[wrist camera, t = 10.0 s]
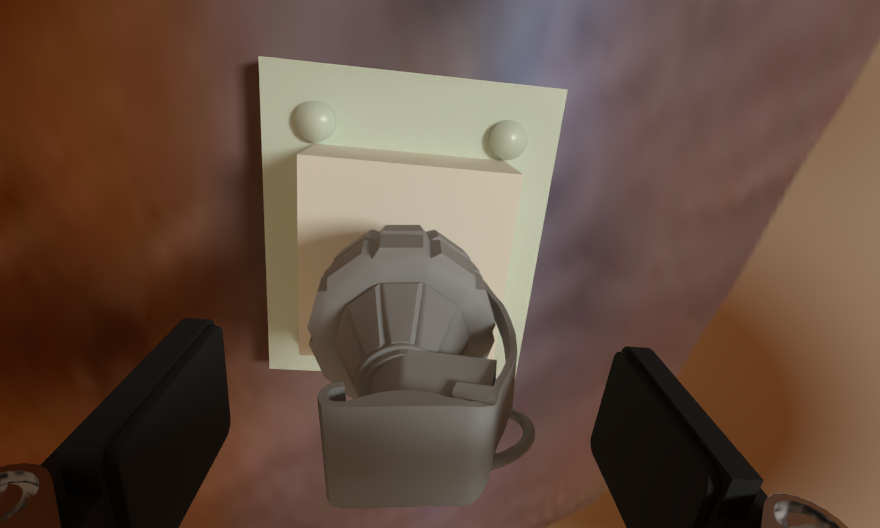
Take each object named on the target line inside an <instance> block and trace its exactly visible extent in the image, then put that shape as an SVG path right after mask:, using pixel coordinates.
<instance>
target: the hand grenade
mask: <svg viewBox="0 0 880 528" xmlns="http://www.w3.org/2000/svg"><path fill="white" fill-rule="evenodd" d="M495 322H496V324H495ZM495 325H497V327H498V330H499V333H500V335H501V338H502V342H503V346H504V352H505V361H506V363H505V365H504V367H503V369H502V371H501V373H500V375H499V376H498V378H497V379H496V368H497V360H492V359H487V357H488V355H489V353H490V350H491V348H492V346H493V344H494V341H495V340H494V335H493V329H494V327H495ZM307 329H308V331H309V332H310V334H311V338H310V341H309V346H310V348H311V350H312V352H313V354H314V356H315V358H316V360H317V363H318V365H319V367H320V369H321V371H322V373H323V375H324V377H325V378H327V379H328V380H330V381H331V382H333V383H332V384H328V385H326V386H325V387H324V388H323V389H321V390H320V391H319V394H318V397H317V399H318V409H319V420H320V430H321V441H322V451H323V462H324V472H325V483H326V493H327V499H328V501H329V503H330V505H332V506H336V507H339V508H378V507H418V506H465V505H468V504H471V503H472V502H474V501H475V500H476V499H477V498H478V497H479V496H480V495H481V493H482V492H483V490H484V488H485V486H486V484H487V481H488V479H489V475H490V471H491V470H493V469H497V468H500V467H503V466H505V465H507V464H510V463H512V462H514V461H515V460H517V459H519V458H520V457H521V456H523V455H524V454H525V453H526V452H527V451H528V450H529V449H530V447H531V446H532V444H533V441H534V438H535V429H534V426H533V424H532V422H531V421H530V419H529V418H528V417H527V416H526V415H524V414H523V413H521V412H520V411H518V410H516V409H514V408H512V406H513V395H514V384H515V372H516V361H517V342H516V334H515V330H514V327H513V324H512V321H511V319H510V317H509V314H508V312H507V310H506V308H505V306H504V305H503V303H502V302H501V301H500V300H499V299H498V298H497V297H496V296H495V294H494V293H493V292H492V291H491V289H490V288H489V286H488V285H487V283H486V282H485V281H484V280H483V278H482V275H481V274H480V271H479V269H478V268H477V267H476V266H475V265H474V263H473V262H472V261H471V260H470V257H469V256H468V255H467V254H466V252H465V251H464V250H463V249H462V248H460V247H459V246H457V245H456V244H455V243H453V242H452V241H450V240H449V239H447V238H446V237H445V236H443V235H442V234H440V233H439V232H438V231H436V230H434V229H433V230H430V231H427V232H426V231H425V230H424V229H423V228H422V227H421V226H420V225H385V226H384V227H383V229H382V230H381V231H380V232H378V231H375V230H369V231H368V232H367V233H365V234H364V235H362V236H361V237H360V238H358V239H357V240H355V241H354V242H353V243H351V244H350V245H348V246H347V247H346V248H344V249H343V250H342V251H341V252H340V253H339V254H338V255H337V256H336V257H335V258H334V261H333V263H331V265H330V267H329V268H328V269H327V270H326V271H325V272H324V276H322V277H321V281H320V284H319V287H318V291H317V294H316V298H315V301H314V305H313V309H312V312H311V316H310V320H309V323H308V327H307ZM345 394H346V395H348V396H350V397H352V398H354V399H353V400H349V401H346V396H345ZM509 418H510V419H512V420H514V421H515V422H517V423H518V424H519V425H520V426H521V427H522V429H523V436H522V438H521V439H520V440H519V441H518V442H517V443H516V444H515V445H514V446H512V447H510V448H509V449H507V450H505V451H503V452H500V453H497V454H495V451H496V448H497V445H498V442H499V440H500V438H501V437H502V435H503V433H504V430H505V427H506V425H507V422H508V419H509Z"/></svg>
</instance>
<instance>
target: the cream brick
mask: <svg viewBox="0 0 880 528" xmlns="http://www.w3.org/2000/svg"><path fill="white" fill-rule="evenodd" d="M522 181H523V174H522V173H520V172H519V171H518V170H516V169H515V168H514V167H512V166H511V165H509V164H508V163H507V162H505V161H501V160H490V159H480V158H469V157H458V156H447V155H436V154H426V153H415V152H404V151H393V150H383V149H372V148H361V147H350V146H339V145H329V144H318V143H316V144H314V145H312V146H311V147H309V148H307V149H305V150H304V151H302V152H300V153H298V154H297V226H298V329H299V355H306V356H314V354H313V352H312V350H311V348H310V346H309V341H310V338H311V334H310V332H309V331H308V329H307V327H308V323H309V320H310V316H311V312H312V309H313V305H314V301H315V298H316V294H317V291H318V287H319V284H320V281H321V277H322V276H324V272H325V271H326V270H327V269H328V268H329V267H330V265H331V263H333V261H334V258H335V257H336V256H337V255H338V254H339V253H340V252H341V251H342V250H343V249H344V248H346V247H347V246H348V245H350V244H351V243H353V242H354V241H355V240H357V239H358V238H360V237H361V236H362V235H364V234H365V233H367V232H368V231H369V230H375V231H378V232H380V231H381V230H382V229H383V227H384V226H385V225H420V226H421V227H422V228H423V229H424V230H425V231H426V232H427V231H430V230H433V229H434V230H436V231H438V232H439V233H440V234H442V235H443V236H445V237H446V238H447V239H449V240H450V241H452V242H453V243H455V244H456V245H457V246H459V247H460V248H462V249H463V250H464V251H465V252H466V254H467V255H468V256H469V257H470V260H471V261H472V262H473V263H474V265H475V266H476V267H477V268H478V269H479V271H480V274H481V275H482V278H483V280H484V281H485V282H486V283H487V285H488V286H489V288H490V289H491V291H492V292H493V293H494V294H495V296H496V297H497V298H498V299H499V300H500V301H501V302H502V303H503V299H504V293H505V286H506V280H507V274H508V268H509V262H510V255H511V249H512V243H513V237H514V230H515V224H516V218H517V212H518V206H519V199H520V193H521V187H522ZM495 324H496V322H495ZM493 335H494V340H495V341H494V344H493V346H492V348H491V350H490V353H489V355H488V357H487V359H492V360H494V355H495V349H496V342H497V336H498V327H497V325H495V327H494V329H493Z"/></svg>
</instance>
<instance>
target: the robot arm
mask: <svg viewBox="0 0 880 528" xmlns="http://www.w3.org/2000/svg"><path fill="white" fill-rule="evenodd" d="M229 428H230V409H229V398H228V387H227V376H226V365H225V354H224V342H223V332H222V329H221V327H218V326H215V324H214V322H213V321H212V320H207V319H192V318H184V319H183V320H181V321H180V322H179V323H178V324H177V326H176V327H175V328H174V329H173V330H172V331H171V332H170V333H169V334H168V335H167V336H166V337H165V338H164V339H163V340H162V341H161V342H160V343H159V344H158V345H157V346H156V347H155V348H154V349H153V350H152V351H151V352H150V353H149V354H148V355H147V356H146V357H145V358H144V359H143V360H142V361H141V363H140V364H139V365H138V366H137V367H136V368H135V369H134V370H133V371H132V372H131V373H130V374H129V375H128V376H127V377H126V378H125V379H124V380H123V381H122V382H121V383H120V384H119V385H118V386H117V387H116V388H115V389H114V390H113V391H112V392H111V393H110V394H109V395H108V396H107V397H106V398H105V399H104V400H103V402H102V403H101V404H100V405H99V406H98V407H97V408H96V409H95V410H94V411H93V412H92V413H91V414H90V415H89V416H88V417H87V418H86V419H85V420H84V421H83V422H82V423H81V424H80V425H79V426H78V427H77V428H76V429H75V430H74V431H73V432H72V433H71V434H70V435H69V436H68V437H67V439H66V440H65V441H64V442H63V443H62V444H61V445H60V446H59V447H58V448H57V449H56V450H55V451H54V452H53V453H52V454H51V455H50V456H49V457H48V458H47V459H46V460H45V461H44V462H43V463H42V464H41V465H37V464H28V463H21V464H13V465H6V466H2V467H0V528H179V526H180V524H181V522H182V520H183V518H184V516H185V514H186V513H187V511H188V509H189V507H190V505H191V503H192V501H193V499H194V498H195V496H196V494H197V492H198V490H199V488H200V486H201V484H202V483H203V481H204V479H205V477H206V475H207V473H208V471H209V469H210V468H211V466H212V464H213V462H214V460H215V458H216V456H217V454H218V452H219V451H220V449H221V447H222V445H223V443H224V441H225V439H226V437H227V435H228V432H229ZM591 450H592V453H593V456H594V458H595V460H596V462H597V464H598V467H599V469H600V471H601V473H602V475H603V477H604V480H605V482H606V484H607V486H608V488H609V490H610V493H611V494H612V497H613V499H614V501H615V503H616V506H617V508H618V510H619V512H620V514H621V516H622V519H623V521H624V523H625V525H626V527H627V528H848V527H847V526H846V525H845V524H844V523H843V522H842V521H841V520H840V519H838V518H837V517H835V516H834V515H833V514H831V513H830V512H829V511H827V510H825V509H824V508H822V507H820V506H818V505H817V504H815V503H813V502H811V501H808V500H806V499H803V498H800V497H798V496H794V495H789V494H773V495H771V496H769V497H768V496H767V495H766V494H765V493H764V492H763V490H762V489H761V488H760V487H761V485H762V483H763V479H762V478H761V477H760V476H759V474H758V473H757V472H756V471H755V470H754V469H753V467H752V466H751V465H750V464H749V463H748V462H747V461H746V459H745V458H744V457H743V456H742V455H741V453H740V452H739V451H738V450H737V449H736V448H735V446H734V445H733V444H732V443H731V442H730V441H729V439H728V438H727V437H726V436H725V435H724V433H723V432H722V431H721V430H720V429H719V428H718V426H717V425H716V424H715V423H714V422H713V421H712V419H711V418H710V417H709V416H708V415H707V414H706V412H705V411H704V410H703V409H702V408H701V407H700V405H699V404H698V403H697V402H696V401H695V399H694V398H693V397H692V396H691V395H690V394H689V392H688V391H687V390H686V389H685V388H684V387H683V386H682V384H681V383H680V382H679V381H678V380H677V378H676V377H675V376H674V375H673V374H672V373H671V371H670V370H669V369H668V368H667V367H666V366H665V364H664V363H663V362H662V361H661V360H660V358H659V357H658V356H657V355H656V354H655V353H654V351H653V350H651V349H650V348H641V347H624V348H623V349H622V351H621V352H617V353H616V354H615V356H614V359H613V362H612V366H611V369H610V373H609V376H608V380H607V383H606V387H605V390H604V394H603V397H602V401H601V404H600V408H599V411H598V415H597V418H596V422H595V425H594V429H593V432H592V436H591Z"/></svg>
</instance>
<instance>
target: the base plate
mask: <svg viewBox="0 0 880 528" xmlns="http://www.w3.org/2000/svg"><path fill="white" fill-rule="evenodd" d="M258 57H259V86H260V114H261V142H262V170H263V198H264V226H265V254H266V283H267V311H268V339H269V367H270V369H290V370H311V371H321V369H320V367H319V365H318V363H317V360H316V358H315V356H306V355H299V329H298V226H297V154H298V153H300V152H302V151H304V150H305V149H307V148H309V147H311V146H312V145H314V144H316V143H318V144H329V145H339V146H350V147H361V148H372V149H383V150H393V151H404V152H415V153H426V154H436V155H447V156H458V157H469V158H480V159H490V160H501V161H505V162H507V163H508V164H509V165H511V166H512V167H514V168H515V169H516V170H518V171H519V172H520V173H522V174H523V181H522V187H521V193H520V199H519V206H518V212H517V218H516V224H515V230H514V237H513V243H512V249H511V255H510V262H509V268H508V274H507V280H506V286H505V293H504V299H503V305H504V306H505V308H506V310H507V312H508V314H509V317H510V319H511V321H512V324H513V327H514V330H515V334H516V342H517V361H516V371H517V365H518V360H519V354H520V349H521V343H522V338H523V332H524V327H525V321H526V316H527V310H528V305H529V299H530V294H531V288H532V283H533V277H534V272H535V266H536V261H537V256H538V250H539V245H540V239H541V234H542V228H543V223H544V217H545V212H546V206H547V201H548V195H549V190H550V184H551V179H552V173H553V168H554V162H555V157H556V151H557V146H558V140H559V135H560V130H561V124H562V119H563V113H564V108H565V102H566V97H567V91H568V90H565V89H556V88H547V87H538V86H529V85H520V84H510V83H501V82H492V81H483V80H474V79H464V78H455V77H446V76H437V75H428V74H419V73H409V72H400V71H391V70H382V69H373V68H364V67H354V66H345V65H336V64H327V63H318V62H309V61H299V60H290V59H281V58H272V57H263V56H258ZM494 360H497V368H496V379H497V378H498V376H499V375H500V373H501V371H502V369H503V367H504V365H505V363H506V361H505V352H504V346H503V342H502V338H501V335H500V333H499V330H498V336H497V342H496V349H495V355H494ZM515 376H516V372H515Z"/></svg>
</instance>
